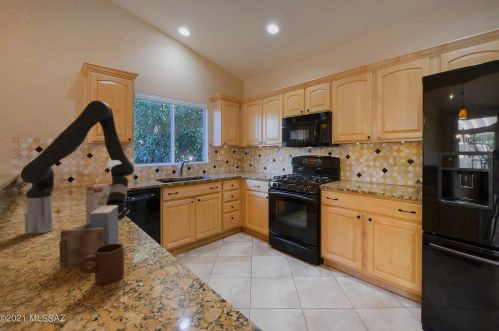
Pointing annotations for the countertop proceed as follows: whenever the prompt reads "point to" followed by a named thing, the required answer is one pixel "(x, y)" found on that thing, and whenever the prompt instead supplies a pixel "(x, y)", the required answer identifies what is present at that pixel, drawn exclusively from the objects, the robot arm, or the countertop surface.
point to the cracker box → (96, 197)
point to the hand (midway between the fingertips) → (110, 228)
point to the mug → (105, 264)
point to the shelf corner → (79, 244)
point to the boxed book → (106, 223)
